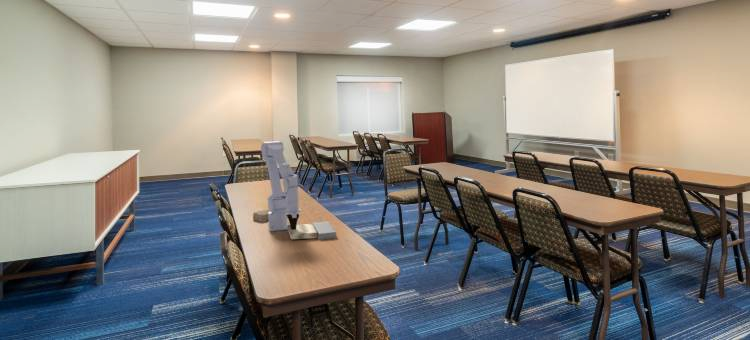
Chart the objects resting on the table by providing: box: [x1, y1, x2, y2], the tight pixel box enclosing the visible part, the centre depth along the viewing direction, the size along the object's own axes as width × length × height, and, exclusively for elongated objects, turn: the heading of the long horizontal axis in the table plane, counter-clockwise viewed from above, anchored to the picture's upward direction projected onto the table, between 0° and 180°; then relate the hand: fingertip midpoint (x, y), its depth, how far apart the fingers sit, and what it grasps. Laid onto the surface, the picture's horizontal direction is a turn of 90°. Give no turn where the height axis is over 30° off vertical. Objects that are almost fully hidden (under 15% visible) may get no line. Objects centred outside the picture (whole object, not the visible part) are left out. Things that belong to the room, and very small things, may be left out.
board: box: [311, 220, 337, 240], centre depth 207 cm, size 8×20×3 cm, turn 17°
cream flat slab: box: [287, 223, 318, 240], centre depth 204 cm, size 12×16×2 cm
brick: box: [252, 208, 271, 223], centre depth 237 cm, size 17×8×5 cm, turn 139°
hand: (293, 229), depth 203 cm, fingers closed, pressing on cream flat slab
